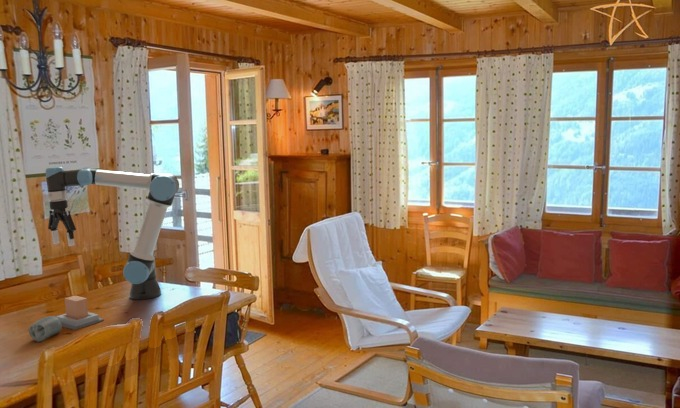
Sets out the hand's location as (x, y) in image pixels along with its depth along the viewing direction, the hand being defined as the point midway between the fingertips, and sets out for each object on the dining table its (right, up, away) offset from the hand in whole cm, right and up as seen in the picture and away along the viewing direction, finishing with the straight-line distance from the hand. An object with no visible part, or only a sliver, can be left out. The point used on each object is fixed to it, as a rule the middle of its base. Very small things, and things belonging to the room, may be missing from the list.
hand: (63, 245), depth 278 cm
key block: (+14, -32, -17) cm, 39 cm away
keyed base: (+14, -33, -17) cm, 40 cm away
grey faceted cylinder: (+10, -36, -36) cm, 51 cm away
